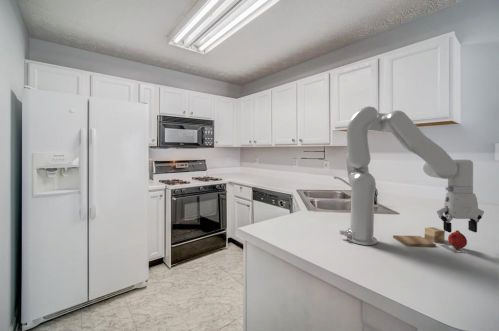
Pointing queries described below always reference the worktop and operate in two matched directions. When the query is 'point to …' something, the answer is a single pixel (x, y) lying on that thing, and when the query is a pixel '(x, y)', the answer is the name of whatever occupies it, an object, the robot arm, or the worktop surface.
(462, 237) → the onion
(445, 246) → the tile
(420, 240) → the board
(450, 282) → the worktop surface
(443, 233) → the oak block
